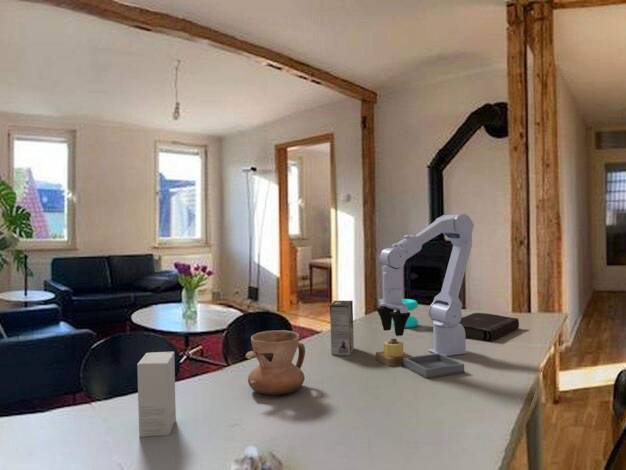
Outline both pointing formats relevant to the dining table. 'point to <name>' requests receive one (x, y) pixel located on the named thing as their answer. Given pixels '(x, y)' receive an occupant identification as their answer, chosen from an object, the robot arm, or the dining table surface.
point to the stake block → (391, 360)
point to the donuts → (411, 306)
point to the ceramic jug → (276, 362)
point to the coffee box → (341, 327)
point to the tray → (433, 365)
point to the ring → (393, 349)
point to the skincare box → (156, 394)
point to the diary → (488, 326)
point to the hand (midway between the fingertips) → (393, 332)
